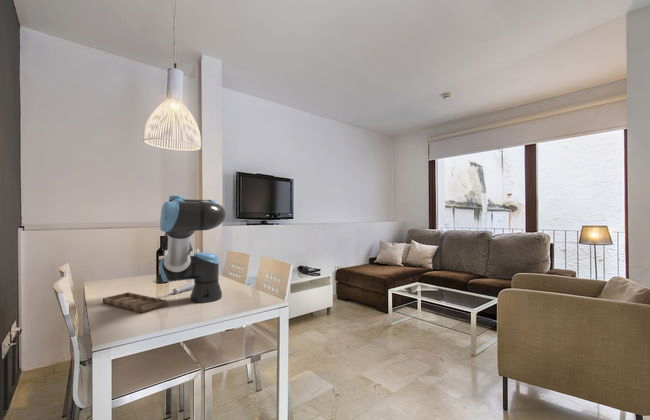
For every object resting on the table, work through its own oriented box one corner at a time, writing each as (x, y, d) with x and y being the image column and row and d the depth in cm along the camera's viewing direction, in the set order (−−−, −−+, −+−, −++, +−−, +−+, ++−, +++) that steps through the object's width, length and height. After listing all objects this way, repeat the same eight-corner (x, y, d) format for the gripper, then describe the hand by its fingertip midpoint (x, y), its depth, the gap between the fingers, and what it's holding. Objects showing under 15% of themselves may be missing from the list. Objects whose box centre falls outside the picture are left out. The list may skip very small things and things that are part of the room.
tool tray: (167, 305, 141) (167, 300, 141) (142, 313, 130) (142, 307, 130) (128, 297, 154) (128, 292, 154) (102, 303, 143) (102, 298, 143)
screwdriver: (154, 302, 152) (153, 294, 152) (194, 288, 174) (193, 280, 175) (161, 301, 150) (159, 293, 150) (200, 287, 172) (198, 279, 173)
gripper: (200, 224, 160) (199, 264, 160) (165, 222, 168) (165, 260, 169) (189, 225, 153) (188, 266, 153) (153, 223, 161) (153, 262, 162)
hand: (176, 263), depth 161 cm, fingers open, 13 cm apart
